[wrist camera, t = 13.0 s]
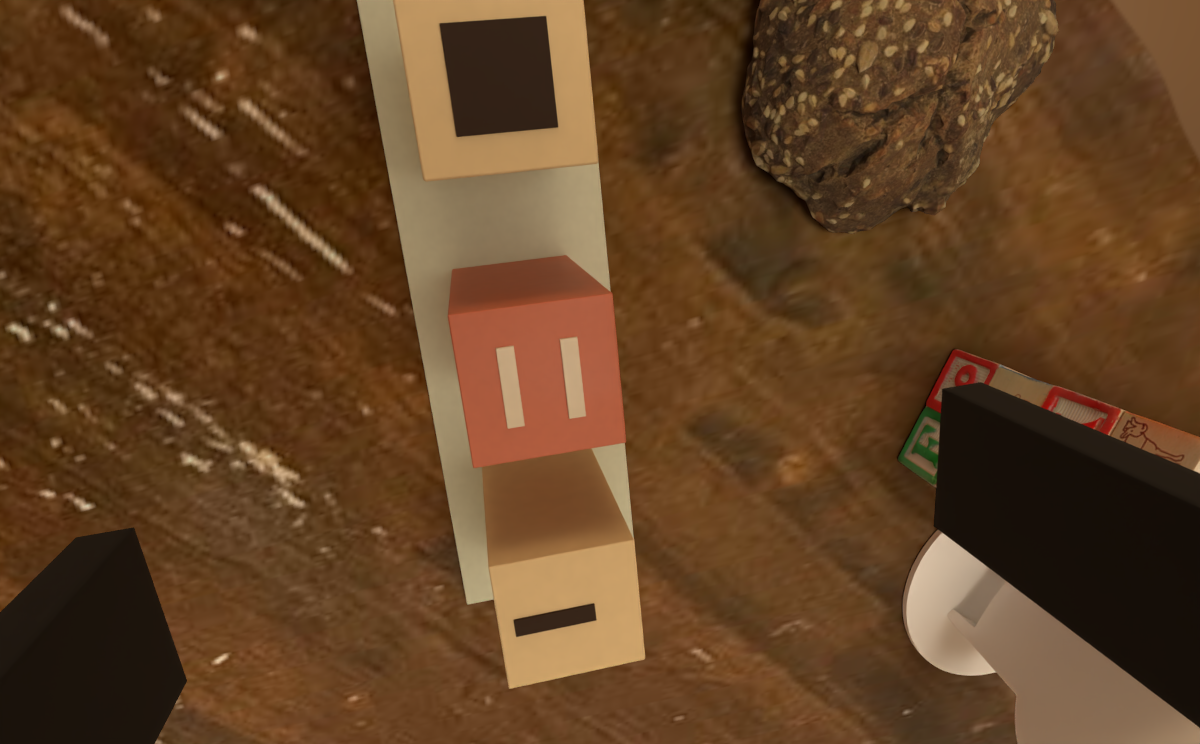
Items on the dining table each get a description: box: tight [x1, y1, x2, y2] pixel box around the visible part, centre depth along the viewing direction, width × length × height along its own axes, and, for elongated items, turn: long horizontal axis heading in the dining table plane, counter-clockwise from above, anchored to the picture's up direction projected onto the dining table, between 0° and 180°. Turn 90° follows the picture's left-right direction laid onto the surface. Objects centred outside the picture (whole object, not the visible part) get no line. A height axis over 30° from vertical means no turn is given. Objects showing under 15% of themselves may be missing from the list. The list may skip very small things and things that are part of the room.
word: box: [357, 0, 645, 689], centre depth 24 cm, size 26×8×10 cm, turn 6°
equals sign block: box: [448, 255, 626, 468], centre depth 24 cm, size 5×5×9 cm
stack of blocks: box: [898, 349, 1200, 488], centre depth 31 cm, size 21×6×12 cm, turn 68°
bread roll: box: [741, 0, 1059, 234], centre depth 26 cm, size 13×12×5 cm
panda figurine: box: [903, 530, 1200, 744], centre depth 31 cm, size 12×11×15 cm
